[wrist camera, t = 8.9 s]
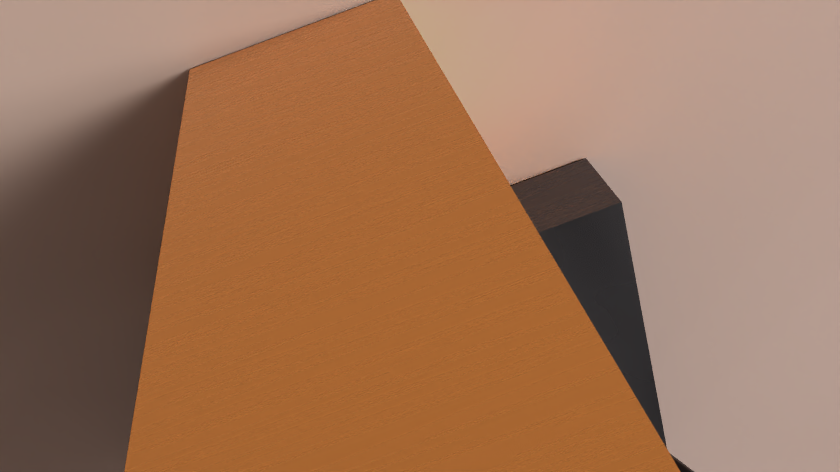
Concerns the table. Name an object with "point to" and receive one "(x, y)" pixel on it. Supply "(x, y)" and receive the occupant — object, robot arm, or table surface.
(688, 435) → the table surface
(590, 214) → the orange grey l-shaped block
